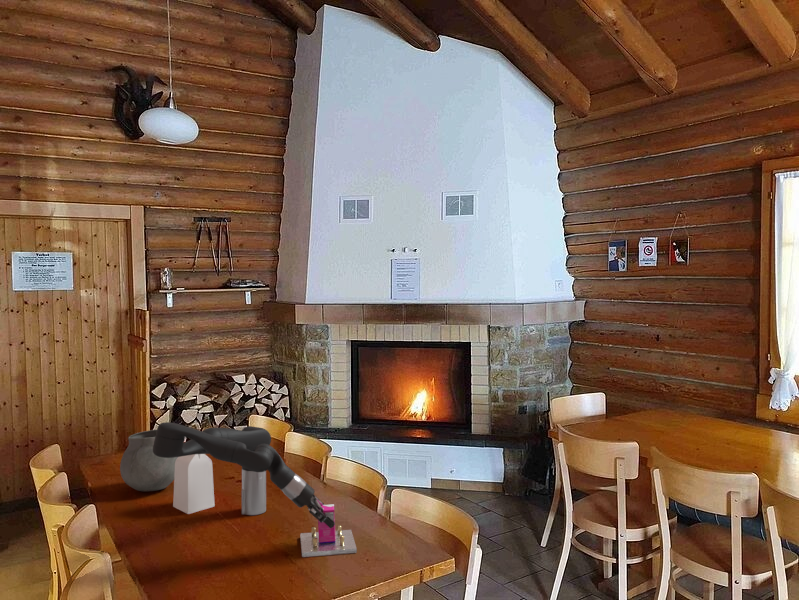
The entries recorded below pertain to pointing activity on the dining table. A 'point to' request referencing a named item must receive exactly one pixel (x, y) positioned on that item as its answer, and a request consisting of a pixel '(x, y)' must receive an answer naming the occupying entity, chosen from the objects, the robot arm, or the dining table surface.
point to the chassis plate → (341, 545)
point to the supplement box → (324, 531)
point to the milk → (193, 483)
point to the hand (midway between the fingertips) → (332, 521)
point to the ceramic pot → (146, 464)
